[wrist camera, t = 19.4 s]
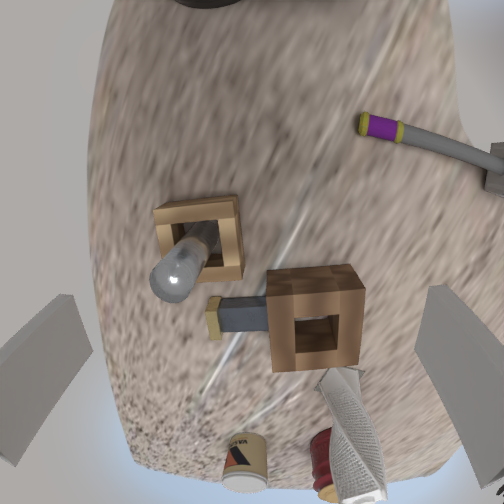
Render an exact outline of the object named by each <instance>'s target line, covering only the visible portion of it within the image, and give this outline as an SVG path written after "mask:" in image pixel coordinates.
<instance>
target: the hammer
mask: <svg viewBox="0 0 504 504" xmlns="http://www.w3.org/2000/svg"><path fill="white" fill-rule="evenodd" d="M358 132H359V133H360V135H361V136H366V135H369V136H373V137H377V138H382V139H386V140H390V141H394V143H404V144H408V145H412V146H416V147H420V148H423V149H427V150H431V151H434V152H437V153H441V154H444V155H447V156H450V157H453V158H456V159H459V160H462V161H465V162H468V163H471V164H474V165H476V166H479V167H482V168H484V169H487V170H488V171H487V177H486V183H485V188H484V190H485V191H488V192H490V193H493V194H495V195H498V196H500V197H503V198H504V142H500V143H492V144H491V151H490V154H489V153H487V152H484V151H481V150H479V149H477V148H474V147H472V146H469V145H466V144H464V143H461V142H458V141H455V140H453V139H450V138H447V137H444V136H441V135H438V134H435V133H432V132H429V131H426V130H423V129H420V128H417V127H413V126H410V125H407V124H403V123H402V122H401V121H399V120H398V121H395V120H391V119H387V118H383V117H378V116H374V115H369V113H368V112H365V111H364V112H363V113H362V114H361V116H360V122H359V130H358Z"/></svg>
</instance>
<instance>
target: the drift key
mask: <svg viewBox="0 0 504 504" xmlns="http://www.w3.org/2000/svg"><path fill="white" fill-rule="evenodd" d="M205 315H206V320H207V325H208V330H209V335H210V339H211V340H222V336H223V332H246V331H266V330H269V325H268V313H267V302H266V296H264V297H247V298H228V299H222V298H221V297H210V300H209V303H208V305H207V308H206V310H205Z"/></svg>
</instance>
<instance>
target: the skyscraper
mask: <svg viewBox="0 0 504 504" xmlns="http://www.w3.org/2000/svg"><path fill="white" fill-rule="evenodd" d="M364 373H365V371H361V370H357V369H353V368H349V367H345V366H344V367H335V368H328V370H327V371H326V373H325V374H324V376H323V377H322V379H321V380H320V382H319V383H318V385H317V386H316V387H315V389H314V391H319V392H322V394H323V396H324V398H325V401H326V403H327V405H328V407H329V409H330V411H331V413H332V416H333V426H332V431H331V437H330V447H329V460H330V469H331V474H332V479H333V483H334V487H335V491H336V494H337V498H338V501H339V504H342V503H343V504H375V502H377V501H380V500H384V501H387V483H386V471H385V463H384V457H383V451H382V447H381V443H380V440H379V437H378V434H377V431H376V429H375V426H374V424H373V422H372V420H371V418H370V416H369V414H368V412H367V410H366V408H365V407H364V405H363V403H362V400H361V390H360V382H359V380H360V378H361V377H362V375H363V374H364Z"/></svg>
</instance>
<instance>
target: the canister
mask: <svg viewBox="0 0 504 504" xmlns="http://www.w3.org/2000/svg"><path fill="white" fill-rule="evenodd" d="M331 431H332V428H330V429H327V430H325V431H323V432H321V433H319V434H318V435H317V436H316V437H314V439H313V440H312V442H311V447H310V453H311V456H312V468H313V471H312V476H313V478H314V479H315V482H314V484H313V488H314V490H315V491H317V492H319V493H318V497H319V498H320V499H322V500H325V501H327V502H330V503H339V501H338V498H337V494H336V491H335V487H334V483H333V479H332V474H331V469H330V460H329V447H330V437H331ZM342 504H343V503H342Z"/></svg>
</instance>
